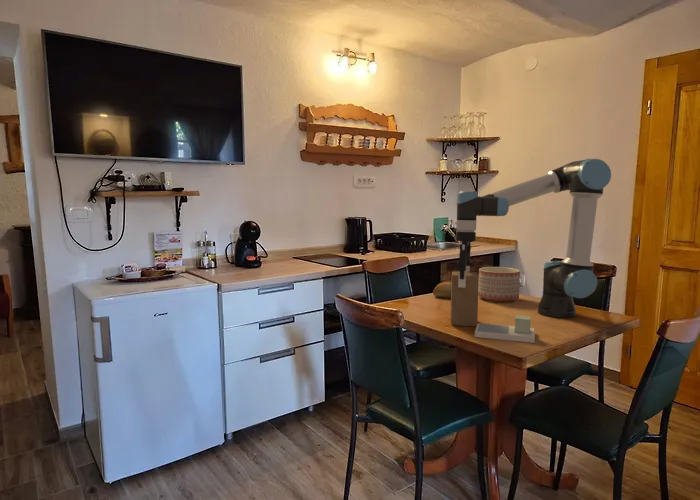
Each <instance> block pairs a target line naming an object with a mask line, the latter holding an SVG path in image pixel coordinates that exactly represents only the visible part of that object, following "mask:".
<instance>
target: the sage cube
mask: <svg viewBox="0 0 700 500" xmlns="http://www.w3.org/2000/svg"><path fill="white" fill-rule="evenodd" d="M514 322H515V323H514V326H515V332H517V333H528V334H530V328H531V322H532V321H531V316H528V315H517V314H516V315H515V321H514Z"/></svg>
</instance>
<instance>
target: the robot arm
mask: <svg viewBox="0 0 700 500" xmlns="http://www.w3.org/2000/svg"><path fill="white" fill-rule="evenodd" d="M611 178H612V171H611V167H610V166H609V165H608V164H607V162H606V161H604V160H602V159H599V158H586V159H582V160H575V161H571V162H569V163H566V164H564V165H562V166H559V167H557V168H555V169H553V170H550V171H548V172H547V174H544V175H542V176H538V177H536V178H533V179H530V180H527V181H524V182H522V183H521V182H520V183H518V184H515V185H512V186H509V187H506V188H503V189H500V190H498V191H497V190H496V191H494V192H491V193H488V194H486V195H482V196H479V195H478V192H477V191H471V190H470V191H465V190H463V191H462V190H461V191H459V192H458V194H457V198H456V199H457V200H456V221H455V222H454V225H456V232H455V241H457V242H461V244H460V245H459V255H458V256H459V257H458V267H456V271H458V272H459V276H458V287H462V288H465V287H466V272H471V270H470V269H471V267H472V264H473V263H472V262H471V249H472V245H471V242H472V243H473V242H475V241H476V237H477V233H476V230H477V217H505V216H507V215H508V213H509V210H510V209H509V208H510V207H512V206H515V205H517V204H520V203H524V202H526V201H529V200H531V199H535V198H539V197H540V196H544V195H547V194H550V193H554V194H557V193H558V194H559V193H560V192H564V191H569V194H570V196H572V206H571V214H570V221H569V222H570V223H569V230H568V231H569V232H568V238H567V248H566V256H565V258H564V259H562V260H547V261H545V262H544V263H543V264H544V266H543V279H542V280H543V281H542V283H543V284H542V285H543V286H542V296H541V298H540V302H539V304H538V306H537V313H538V314H540V315H542V316H545V317H552V318H559V319H560V318H562V319H564V318H565V319H570V318H574V317H577V316H576V315H577V309H576V306H575V302H574V298H576V299H584V298H588V297H589V296H590V295H591V294H593V293H594V291H596V289H597V286H598V278H597V276H596V275H595V273H594V264H593V262H592V260H591V254H592V246H593V239H594V231H595V223H596V214H597V209H598V207H597V206H598V200H599V199H600V198H601V197H602V196H603V194H604V188H605V187H606V186H607V185H609V184H610V182H611Z"/></svg>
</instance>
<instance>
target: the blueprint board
mask: <svg viewBox="0 0 700 500" xmlns="http://www.w3.org/2000/svg"><path fill="white" fill-rule="evenodd" d="M474 337H475V338H480V339H481V338H482V339H492V340H503V341H513V342H524V343H533V344H534V343H536V342H535V340H536V338H535V337H536V335H535V328H534V327H530V334H528V333H517V332H515V325H503V324H493V323H491V324H490V323H481V322H480V323H479V322H477V326H476V327H475V330H474Z"/></svg>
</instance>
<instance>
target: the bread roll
mask: <svg viewBox="0 0 700 500" xmlns="http://www.w3.org/2000/svg"><path fill="white" fill-rule="evenodd" d="M451 285H452V281H441V282H440V283H438V284H436V286H435V287H434V289H433V291H432V294H433V296H434V297H439V298H451Z"/></svg>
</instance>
